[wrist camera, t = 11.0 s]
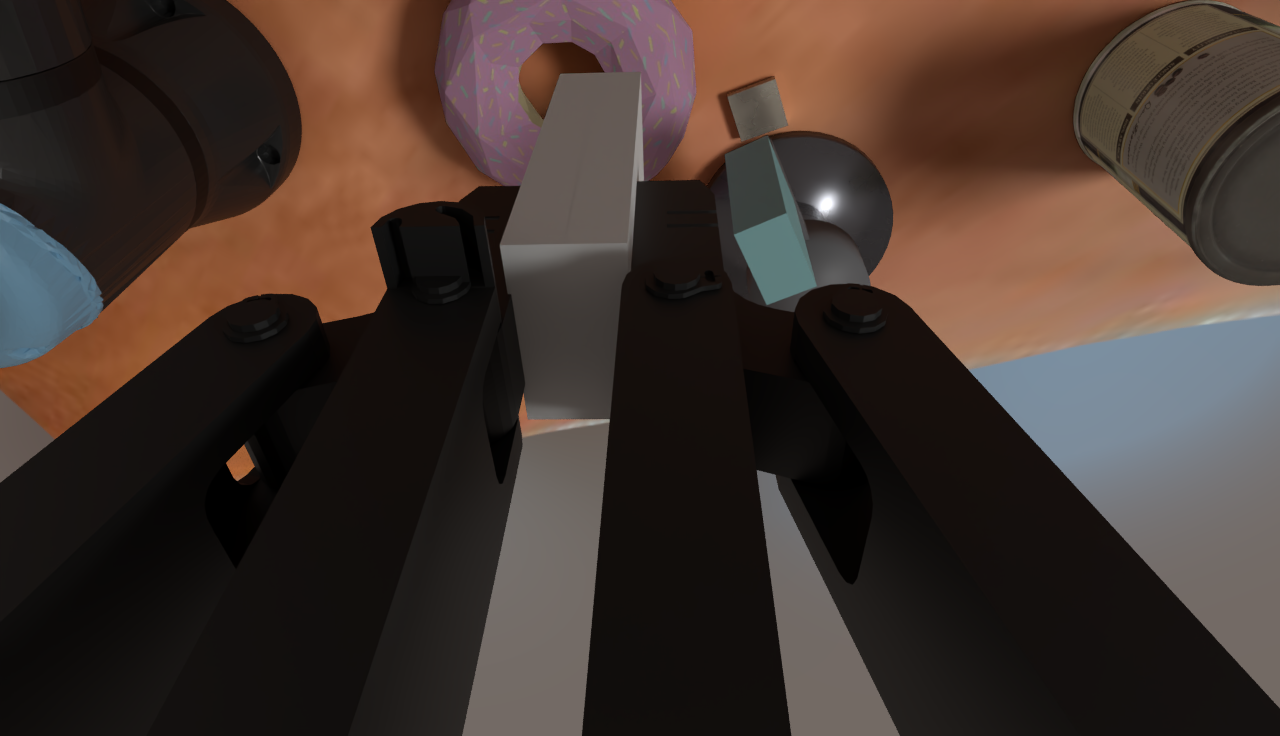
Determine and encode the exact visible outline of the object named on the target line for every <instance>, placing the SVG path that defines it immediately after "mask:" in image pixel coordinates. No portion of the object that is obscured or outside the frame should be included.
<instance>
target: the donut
mask: <svg viewBox="0 0 1280 736" xmlns="http://www.w3.org/2000/svg"><path fill="white" fill-rule="evenodd" d="M560 42H573V43H575V44H576V45H578V46H580V47H582V48H583V49H585V50H587V51H589V52H591V53H592V54H594V55H595V56H596V58H597V60H598V61H599V63H600V65H601V67H602V68H603V70H604V72H605V73H612V72H641V94H642V130H643V165H644V181H649V180H650V179H652V178H653V177H654V176H656V175H657V174H658V173H659V172H660V171H661V170H662V169H663V168H664V166H665V165H666V164H667V163H668V162H669V160H670V158H671V157H672V155H673V154H674V152H675V150H676V149H677V147H678V146H679V144H680V142H681V141H682V139H683V138H684V134H685V131H686V127H687V124H688V120H689V117H690V113H691V109H692V106H693V102H694V99H695V96H696V79H695V64H694V49H693V35H692V30H691V28H690V27H689V26H688V24H687V23H686V21H685V20H684V19H683V17H682V16H681V14H680V13H679V11H678V10H677V9H676V7H675V6H674V4H673V3H672V1H671V0H451V2H450V4H449V5H448V7H447V8H446V10H445V12H444V13H443V18H442V24H441V31H440V37H439V44H438V50H437V56H436V63H435V76H436V80H437V84H438V89H439V93H440V98H441V102H442V106H443V111H444V115H445V120H446V123H447V125H448V126H449V127H450V129H451V130H452V132H453V133H454V135H455V136H456V138H457V139H458V141H459V142H460V144H461V145H462V147H463V148H464V150H465V151H466V152H467V154H468V155H469V157H470V158H471V160H472V161H473V163H474V164H475V166H476V167H477V169H478V170H479V171H481V172H482V173H484V174H485V175H487V176H489V177H490V178H492V179H494V180H495V181H497V182H498V183H500V184H502V185H503V186H521V183H522V181H523V178H524V175H525V172H526V169H527V166H528V164H529V161H530V158H531V155H532V152H533V150H534V147H535V144H536V141H537V138H538V135H539V133H540V130H541V127H542V124H543V121H544V119H542V118H541V117H540V115H539V114H538V113H537V111H536V110H535V108H534V107H533V105H532V104H531V103H530V101H529V100H528V98H527V97H526V96H525V94H524V93H523V91H522V89H521V86H520V83H519V73H520V69H521V66H522V64H523V63H524V62H525V61H526V60H527V59H528V58H529V57H530V56H531V55H532V54H533V53H534V52H535V51H536V50H537V49H538V48H539V47H540V46H541V45H542V44H543V43H560Z"/></svg>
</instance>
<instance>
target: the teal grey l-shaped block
mask: <svg viewBox="0 0 1280 736" xmlns="http://www.w3.org/2000/svg"><path fill="white" fill-rule="evenodd" d="M725 162H726V171H727V180H728V188H729V197H730V206H731V214H732V223H733V232H734V236H735V238H736V240H737V243H738V245H739V247H740V249H741V251H742V253H743V255H744V257H745V260H746V262H747V264H748V265H747V272H746V276H747V285H748V293H749V301H751V302H754V303H756V304H758V305H762V306H766V307H770V308H774V309H779V310H785V311H790V312H794V311H795V308H796V305H797V303H798V301H799V298H801V297H802V296H804V295H805V294H806V293H808V292H809V291H811V290H812V289H816V288H819V287H823V286H827V285H830V284H847V283H854V284H860V285H868V286H870V279H869V276H868V273H867V270H866V268H865V265H864V262H863V260H862V257H861V255H860V252H859V249H858V247H857V245H856V243H855V242H854V240H853V239H852V237H851V236H850V235H849V234H848V233H847V232H845V231H844V230H843V229H841V228H840V227H838V226H836V225H834V224H832V223H829V222H825V221H821V220H804V219H803V217H802V214H801V212H800V209H799V207H798V204H797V202H796V199H795V197H794V194H793V192H792V189H791V187H790V184H789V182H788V179H787V177H786V174H785V172H784V169H783V167H782V164H781V162H780V159H779V157H778V155H777V152H776V150H775V147H774V145H773V142H772V140H771V138H768V135H767V136H764V137H762V138H760V139H758V140H755V141H753V142H751V143H749V144H747V145H744V146H742V147H740V148H738V149H735V150H733V151H731V152H729V153H726V154H725Z"/></svg>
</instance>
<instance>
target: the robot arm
mask: <svg viewBox="0 0 1280 736" xmlns="http://www.w3.org/2000/svg"><path fill="white" fill-rule="evenodd" d="M301 135H302V125H301V115H300V109H299V105H298V101H297V97H296V94H295V91H294V88H293V85H292V83H291V80H290V78H289V76H288V74H287V72H286V70H285V68H284V66H283V64H282V62H281V61H280V59H279V57H278V56H277V54H276V52H275V51H274V50H273V48H272V47H271V45H270V44H269V43H268V41H267V40H266V39H265V37H264V36H263V35H262V34H261V33H260V31H259V30H258V29H257V28H256V27H255V26H254V25H253V24H252V23H251V22H250V21H249V20H248V19H247V18H246V17H245V16H244V15H243V14H242V13H241V12H240V11H239V10H238V9H236V8H235V7H234V6H233V5H232V4H230V3H229V2H228V1H226V0H0V368H4V367H10V366H16V365H20V364H23V363H27V362H29V361H32V360H34V359H36V358H38V357H40V356H42V355H44V354H46V353H47V352H48V351H50V350H51V349H53V348H54V347H55V346H56V345H58V344H59V343H60V342H62V341H63V340H64V339H66V338H67V337H68V336H70V335H71V334H72V333H73V332H75V331H76V330H79V329H82V328H84V327H86V326H88V325H90V324H91V323H92V322H93V320H95V319H96V318H98V315H99V314H100V313H101V312H102V311H103V310H104V309H105V308H106V307H107V306H108V305H109V304H110V303H111V302H112V301H113V300H114V299H115V298H117V297H118V296H119V295H120V294H121V293H122V292H123V291H124V290H125V289H126V288H127V287H128V286H129V285H130V284H131V283H132V282H133V281H134V280H135V279H136V278H138V277H139V276H140V275H141V274H142V273H143V272H144V271H145V270H146V269H147V268H148V267H149V266H150V265H151V264H152V263H153V262H154V261H155V260H156V259H158V258H159V257H160V256H161V255H162V254H163V253H164V252H165V251H166V250H167V249H168V248H169V247H170V246H171V245H172V244H173V243H174V242H175V241H176V240H178V239H179V238H180V236H181V235H182V234H184V233H185V232H186V231H187V230H188V229H190V228H193V227H197V226H201V225H205V224H208V223H212V222H216V221H220V220H224V219H227V218H231V217H235V216H238V215H241V214H243V213H245V212H248V211H250V210H251V209H253V208H255V207H257V206H258V205H260V204H261V203H263V202H264V201H265V200H266V199H267V198H268V197H270V196H271V195H272V194H273V193H274V192H275V191H276V190H277V189H278V188H279V187H280V186H281V185H282V183H283V182H284V181H285V180H286V179H287V177H288V176H289V175H290V173H291V171H292V170H293V167H294V165H295V163H296V161H297V158H298V154H299V150H300V145H301ZM371 231H372V234H373V238H374V242H375V245H376V249H377V252H378V256H379V260H380V263H381V267H382V271H383V274H384V278H385V281H386V285H387V291H386V292H385V294H384V296H383V298H382V300H381V302H380V303H379V305H378V307H377V309H376V311H375V312H374V313H370V314H366V315H362V316H358V317H353V318H348V319H343V320H338V321H332V322H327V323H322V321H321V319H320V316H319V313H318V310H317V307H316V306H315V305H314V304H313V303H312V302H311V301H310V300H309V299H307V298H304V297H300V296H297V295H293V294H263V295H261V296H258V295H257V296H252V297H248V298H245V299H244V300H243V301H240V302H238V303H235V304H232V305H230V306H227V307H226V308H224V309H222V310H221V311H219V312H217V313H216V314H214V315H212V316H211V317H209V318H208V319H207V320H205V321H204V322H203V323H202V324H200V325H199V326H198V327H197V328H195V329H194V330H193V331H192V332H190V333H189V334H188V335H186V336H185V337H184V338H183V339H181V340H180V341H179V342H178V343H176V344H175V345H174V346H173V347H171V348H170V349H169V350H168V351H166V352H165V353H164V354H162V355H161V356H160V357H159V358H157V359H156V360H155V361H154V362H152V363H151V364H150V365H149V366H147V367H146V368H145V369H144V370H142V371H141V372H140V373H138V374H137V375H136V376H135V377H133V378H132V379H131V380H130V381H128V382H127V383H126V384H125V385H123V386H122V387H121V388H119V389H118V390H117V391H116V392H114V393H113V394H112V395H111V396H109V397H108V398H107V399H106V400H104V401H103V402H102V403H101V404H99V405H98V406H97V407H95V408H94V409H93V410H92V411H90V412H89V413H88V414H87V415H85V416H84V417H83V418H82V419H80V420H79V421H78V422H77V423H75V424H74V425H73V426H71V427H70V428H69V429H68V430H66V431H65V432H64V433H63V434H61V435H60V436H59V437H58V438H56V439H55V440H54V441H53V442H51V443H50V444H49V445H48V446H46V447H45V448H44V449H42V450H41V451H40V452H39V453H37V454H36V455H35V456H34V457H32V458H31V459H30V460H29V461H27V462H26V463H25V464H24V465H23V466H21V467H20V468H19V469H17V470H16V471H15V472H13V473H12V474H11V475H10V476H8V477H7V478H6V479H5V480H3V481H2V482H1V483H0V736H462V733H463V728H464V724H465V719H466V714H467V709H468V705H469V699H470V695H471V690H472V685H473V680H474V676H475V671H476V666H477V661H478V656H479V652H480V647H481V642H482V637H483V633H484V627H485V623H486V618H487V613H488V609H489V604H490V599H491V594H492V589H493V585H494V580H495V575H496V570H497V565H498V560H499V556H500V551H501V546H502V541H503V536H504V532H505V527H506V522H507V517H508V513H509V508H510V503H511V498H512V493H513V488H514V484H515V479H516V474H517V469H518V465H519V459H520V455H521V450H522V433H521V427H520V421H519V416H518V414H519V409H520V405H521V401H522V396H523V392H524V398H525V405H526V411H527V417H528V419H610V425H609V435H608V447H607V458H606V469H605V481H604V492H603V503H602V514H601V526H600V537H599V548H598V560H597V571H596V583H595V594H594V605H593V617H592V628H591V639H590V651H589V662H588V673H587V684H586V697H585V707H584V719H583V730H582V736H791V729H790V723H789V714H788V706H787V699H786V691H785V683H784V676H783V668H782V661H781V654H780V645H779V638H778V631H777V622H776V615H775V607H774V600H773V592H772V585H771V578H770V569H769V562H768V554H767V547H766V539H765V532H764V523H763V516H762V508H761V501H760V493H759V485H758V478H757V470H759V471H763V472H767V473H771V474H775V475H776V479H777V483H778V488H779V491H780V492H781V495H782V496H783V499H784V500H785V503H786V505H787V507H788V509H789V511H790V513H791V515H792V517H793V519H794V521H795V523H796V525H797V527H798V529H799V531H800V533H801V535H802V537H803V539H804V541H805V543H806V545H807V547H808V549H809V551H810V554H811V556H812V558H813V560H814V561H815V564H816V566H817V568H818V570H819V572H820V574H821V576H822V578H823V580H824V582H825V584H826V586H827V588H828V590H829V592H830V594H831V596H832V598H833V600H834V602H835V604H836V606H837V608H838V610H839V612H840V614H841V617H842V618H843V620H844V623H845V625H846V627H847V629H848V631H849V633H850V635H851V637H852V639H853V641H854V643H855V645H856V647H857V649H858V651H859V653H860V655H861V657H862V659H863V661H864V663H865V665H866V667H867V669H868V671H869V673H870V675H871V678H872V680H873V682H874V684H875V685H876V688H877V690H878V692H879V694H880V696H881V698H882V700H883V702H884V704H885V706H886V708H887V710H888V712H889V714H890V716H891V718H892V720H893V722H894V724H895V726H896V728H897V730H898V732H899V734H900V736H1280V708H1279V707H1278V706H1277V705H1276V704H1275V703H1274V702H1273V701H1272V700H1271V698H1270V697H1269V696H1268V695H1267V694H1266V693H1265V692H1264V691H1263V690H1262V689H1261V688H1260V686H1259V685H1258V684H1257V683H1256V682H1255V681H1254V680H1253V679H1252V678H1251V677H1250V676H1249V675H1248V673H1247V672H1246V671H1245V670H1244V669H1243V668H1242V667H1241V666H1240V665H1239V664H1238V663H1237V661H1236V660H1235V659H1234V658H1233V657H1232V656H1231V655H1230V654H1229V653H1228V652H1227V651H1226V650H1225V648H1224V647H1223V646H1222V645H1221V644H1220V643H1219V642H1218V641H1217V640H1216V639H1215V638H1214V636H1213V635H1212V634H1211V633H1210V632H1209V631H1208V630H1207V629H1206V628H1205V627H1204V626H1203V625H1202V623H1201V622H1200V621H1199V620H1198V619H1197V618H1196V617H1195V616H1194V615H1193V614H1192V613H1191V611H1190V610H1189V609H1188V608H1187V607H1186V606H1185V605H1184V604H1183V603H1182V602H1181V601H1180V600H1179V598H1178V597H1177V596H1176V595H1175V594H1174V593H1173V592H1172V591H1171V590H1170V589H1169V588H1168V587H1167V585H1166V584H1165V583H1164V582H1163V581H1162V580H1161V579H1160V578H1159V577H1158V576H1157V575H1156V573H1155V572H1154V571H1153V570H1152V569H1151V568H1150V567H1149V566H1148V565H1147V564H1146V563H1145V562H1144V560H1143V559H1142V558H1141V557H1140V556H1139V555H1138V554H1137V553H1136V552H1135V551H1134V550H1133V549H1132V547H1131V546H1130V545H1129V544H1128V543H1127V542H1126V541H1125V540H1124V539H1123V538H1122V536H1121V535H1120V534H1119V533H1118V532H1117V531H1116V530H1115V529H1114V528H1113V527H1112V526H1111V525H1110V523H1109V522H1108V521H1107V520H1106V519H1105V518H1104V517H1103V516H1102V515H1101V514H1100V513H1099V512H1098V510H1097V509H1096V508H1095V507H1094V506H1093V505H1092V504H1091V503H1090V502H1089V501H1088V500H1087V499H1086V497H1085V496H1084V495H1083V494H1082V493H1081V492H1080V491H1079V490H1078V489H1077V488H1076V487H1075V486H1074V484H1073V483H1072V482H1071V481H1070V480H1069V479H1068V478H1067V477H1066V476H1065V475H1064V473H1063V472H1061V470H1060V469H1059V468H1058V467H1057V466H1056V465H1055V464H1054V463H1053V462H1052V461H1051V459H1050V458H1049V457H1048V456H1047V455H1046V454H1045V453H1044V452H1043V451H1042V450H1041V448H1040V447H1039V446H1038V445H1037V444H1036V443H1035V442H1034V441H1033V440H1032V439H1031V438H1030V436H1029V435H1028V434H1027V433H1026V432H1025V431H1024V430H1023V429H1022V428H1021V427H1020V426H1019V425H1018V424H1017V422H1015V420H1014V419H1013V418H1012V417H1011V416H1010V415H1009V414H1008V413H1007V412H1006V410H1005V409H1004V408H1003V407H1002V406H1001V405H1000V404H999V403H998V402H997V401H996V400H995V398H994V397H993V396H992V395H991V394H990V393H989V392H988V391H987V390H986V389H985V388H984V386H983V385H982V384H981V383H980V382H979V381H978V380H977V379H976V378H975V377H974V376H973V375H972V373H971V372H970V371H969V370H968V369H967V368H966V367H965V366H964V365H963V364H962V363H961V361H960V360H959V359H958V358H957V357H956V356H955V355H954V354H953V353H952V352H951V351H950V350H949V348H948V347H947V346H946V345H945V344H944V343H943V342H942V341H941V340H940V339H939V338H938V337H937V335H936V334H935V333H934V332H933V331H932V330H931V329H930V328H929V327H928V326H927V325H926V323H925V322H924V321H923V320H922V319H921V318H920V317H919V316H918V315H917V314H916V313H915V312H914V310H913V309H912V308H911V307H910V306H909V305H907V304H906V303H905V302H903V301H902V300H901V299H899V298H898V297H897V296H895V295H893V294H891V293H888V292H885V291H883V290H880V289H878V288H875V287H872V286H868V285H860V284H854V283H847V284H830V285H827V286H823V287H819V288H816V289H812V290H811V291H809V292H808V293H806V294H805V295H804V296H802V297H801V298H799V301H798V303H797V305H796V308H795V311H794V312H790V311H785V310H779V309H774V308H770V307H766V306H762V305H758V304H756V303H754V302H751V301H749V300H747V299H745V298H743V297H742V296H740V295H739V294H737V293H736V292H734V291H733V287H732V283H731V281H730V279H729V277H728V275H727V273H726V272H725V271H724V267H723V259H722V251H721V243H720V235H719V227H718V219H717V213H716V203H715V195H714V193H713V192H712V191H711V190H710V189H709V188H707V187H706V186H705V185H704V184H703V183H702V182H701V181H700V180H676V181H644V165H643V130H642V94H641V72H612V73H569V74H560V76H559V79H558V82H557V84H556V87H555V90H554V93H553V96H552V99H551V101H550V104H549V107H548V110H547V113H546V116H545V118H544V121H543V124H542V127H541V130H540V133H539V135H538V138H537V141H536V144H535V147H534V150H533V152H532V155H531V158H530V161H529V164H528V166H527V169H526V172H525V175H524V178H523V181H522V183H521V186H479V187H478V188H476V189H475V190H474V191H472V192H471V193H470V194H468V195H467V196H465V197H464V198H463V199H461V200H460V201H459V202H445V201H437V202H428V203H419V204H415V205H411V206H407V207H404V208H400V209H397V210H395V211H393V212H391V213H389V214H387V215H385V216H383V217H381V218H380V219H379V220H378V221H377V222H376V223H375V224H374V225H373V226H372V227H371ZM243 445H245V447H246V449H247V451H248V453H249V455H250V457H251V459H252V461H253V464H254V466H255V467H254V468H253V469H252V470H251V471H250V472H249V473H248V474H247V475H246V476H245V477H243V478H242V479H240V480H239V481H236V480H235V479H234V478H233V476H232V474H231V472H230V470H229V468H228V466H227V464H226V462H227V461H228V460H229V459H230V458H231V457H232V456H233V455H234V454H235V453H236V452H237V451H238V450H239V449H240V448H241V447H242V446H243Z"/></svg>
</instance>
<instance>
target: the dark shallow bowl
mask: <svg viewBox="0 0 1280 736" xmlns="http://www.w3.org/2000/svg"><path fill="white" fill-rule="evenodd" d="M727 97H728V100H729V104H730V107H731V110H732V113H733V116H734V119H735V123H736V126H737V129H738V132H739V135H740V138H741V142H742V141H745V140H748V139H750V138H753V137H756V136H759V135H762V134H765V133H767V132H770V131H773V130H776V129H779V128H782V127H785V126H787V125H788V123H787V120H786V116H785V113H784V109H783V105H782V102H781V98H780V94H779V91H778V87H777V83H776V80H775V77H774V76H773V77H770V78H768V79H765V80H762V81H760V82H757V83H754V84H751V85H749V86H746V87H743V88H741V89H738V90H735V91H733V92H730V93H727ZM768 138H771V140H772V142H773V145H774V147H775V150H776V152H777V155H778V157H779V159H780V162H781V164H782V167H783V169H784V172H785V174H786V177H787V179H788V182H789V184H790V187H791V189H792V192H793V194H794V197H795V199H796V202H797V204H798V207H799V209H800V212H801V214H802V217H803V219H804V220H821V221H825V222H829V223H832V224H834V225H836V226H838V227H840V228H841V229H843V230H844V231H845V232H847V233H848V234H849V235H850V236H851V237H852V239H853V240H854V242H855V243H856V245H857V247H858V249H859V252H860V255H861V257H862V260H863V262H864V265H865V268H866V270H867V273H868V276H869V275H870V274H871V273H872V272H873V270H874V269H875V268H876V266H877V265H878V263H879V262H880V260H881V259H882V257H883V255H884V253H885V251H886V248H887V246H888V243H889V240H890V237H891V231H892V226H893V209H892V201H891V198H890V194H889V191H888V188H887V186H886V184H885V182H884V180H883V178H882V176H881V174H880V172H879V171H878V169H877V168H876V166H875V165H874V163H873V162H872V161H871V160H870V159H869V158H868V157H867V156H866V155H865V154H864V153H863V152H862V151H861V150H859V149H858V148H857V147H855V146H854V145H852V144H850V143H849V142H847V141H845V140H843V139H840V138H838V137H835V136H833V135H828V134H824V133H820V132H811V131H792V132H786V133H779V134H776V135H772V136H769V137H768ZM707 188H709V189H710V190H711V191H712V192H713V193H714V195H715V203H716V213H717V219H718V227H719V235H720V243H721V251H722V259H723V267H724V271H725V272H726V273H727V275H728V277H729V279H730V281H731V283H732V287H733V291H734V292H736V293H737V294H739V295H740V296H742V297H743V298H745V299H747V300H749V293H748V285H747V276H746V272H747V265H748V264H747V262H746V260H745V257H744V255H743V253H742V251H741V249H740V247H739V245H738V243H737V240H736V238H735V236H734V232H733V223H732V214H731V206H730V197H729V188H728V180H727V171H726V162H725V163H724V164H723V165H722V166H721V167H720V169H719V170H718V171H717V172H716V173H715V175H714V176H713V177H712V179H711V181H710V182H709V184H708V186H707Z"/></svg>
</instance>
